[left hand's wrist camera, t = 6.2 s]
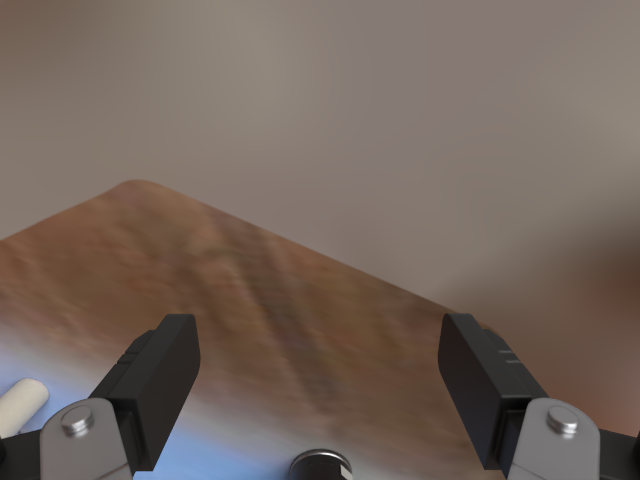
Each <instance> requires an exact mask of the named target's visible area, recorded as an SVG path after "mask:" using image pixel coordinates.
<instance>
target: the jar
mask: <svg viewBox="0 0 640 480" xmlns="http://www.w3.org/2000/svg"><path fill="white" fill-rule="evenodd" d="M48 399H49V391H48V389H47V388H46V386H45V385H44V384H42V383H41V382H39V381H37V380H34V379H29V378H26V379H21V380H19V381H18V382H16V383H15V384H14V385H13V386H12V387H11V388H10V389H9V390H8V391H6V392H5V393H4V394H3V395H2V396H1V397H0V436H1V439H3V438H7V437H11V436H15V435H16V434H17V433H18V431H19V430H20V429H21V428H22V427H23V426H24V425H25V424H26V423H27V422H28V421H29V420H30V419H31V418H32V417H33V415H34V414H35V413H36V412H37V411H38V410H39V409H40V408H41V407H42V406H43V405H44V404H45V403H46V402H47V400H48Z"/></svg>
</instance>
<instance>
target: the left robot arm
mask: <svg viewBox="0 0 640 480" xmlns="http://www.w3.org/2000/svg"><path fill="white" fill-rule="evenodd" d="M438 365H439V370H440V373H441V376H442V378H443V380H444V382H445V384H446V387H447V389H448V391H449V393H450V395H451V398H452V400H453V402H454V404H455V406H456V408H457V411H458V413H459V415H460V417H461V419H462V422H463V424H464V426H465V428H466V430H467V432H468V435H469V437H470V439H471V441H472V443H473V446H474V448H475V450H476V452H477V454H478V457H479V459H480V461H481V463H482V465H483V467H484V470H502V472H503V474H504V476H505V478H506V480H640V431H639V434H638V436H637V438H636V437H631V436H627V435H623V434H619V433H615V432H611V431H607V430H602V429H598V428H597V426H596V425H595V423H594V422H593V421H592V420H591V419H590V418H589V417H588V416H587V415H586V414H585V413H583V412H582V411H580V410H579V409H577V408H576V407H574V406H572V405H570V404H568V403H565V402H563V401H560V400H556V399H552V398H550V397H549V396H548V395H547V394H546V392H545V391H544V390H543V389H542V387H541V386H540V385H539V384H538V382H537V381H536V380H535V379H534V377H533V376H532V375H531V374H530V372H529V371H528V370H527V369H526V367H525V366H524V365H523V364H522V363H520V360H519V359H518V357H517V356H516V355H515V354H514V353H512V350H511V349H510V347H509V346H508V345H507V344H506V342H505V341H504V340H503V339H502V338H500V337H499V336H498V335H496V334H495V333H493V332H492V331H490V330H489V329H482V328H481V327H480V325H479V324H478V323H477V321H476V320H475V319H474V317H473V316H472V315H471V314H469V313H446V314H445V315H444V317H443V321H442V328H441V335H440V343H439V350H438ZM199 367H200V349H199V342H198V335H197V328H196V321H195V317H194V315H193V314H168V315H166V317H165V318H164V319H163V321H162V322H161V323H160V325H159V326H158V327H157V329H156V330H149V331H147V332H146V333H144V334H143V335H141V336H140V337H138V338H137V339H135V340H134V341H133V343H132V344H131V345H130V346H129V348H128V349H127V350H126V351H125V354H123V355H122V356H121V358H120V359H119V360H118V361H117V364H115V365H114V366H113V367H112V369H111V370H110V371H109V372H108V374H107V375H106V376H105V377H104V379H103V380H102V381H101V382H100V384H99V385H98V386H97V387H96V389H95V390H94V391H93V392H92V393H91V395H90V396H89V397H88V398H87V399H84V400H80V401H77V402H74V403H72V404H70V405H68V406H66V407H64V408H63V409H61V410H60V411H58V412H57V413H55V414H54V415H53V416H52V417H51V418H50V419H49V420H48V421H47V422H46V423H45V425H44V426H43V428H42V429H39V430H36V431H32V432H28V433H24V434H19V435H15V436H11V437H7V438H3V439H1V436H0V480H133V479H132V478H133V476H134V474H135V472H136V471H153V470H154V467H155V465H156V463H157V461H158V459H159V457H160V454H161V452H162V450H163V448H164V446H165V444H166V442H167V439H168V437H169V435H170V433H171V431H172V429H173V426H174V424H175V422H176V420H177V418H178V416H179V413H180V411H181V409H182V407H183V405H184V403H185V401H186V398H187V396H188V394H189V392H190V390H191V388H192V385H193V383H194V381H195V379H196V377H197V374H198V372H199ZM290 480H353V475H352V470H351V466H350V464H349V462H348V461H347V460H346V459H345V458H344V457H343V456H342V455H340V454H338V453H336V452H333V451H329V450H313V451H309V452H306V453H304V454H302V455H300V456H299V457H298V458H296V459H295V460H294V462H293V463H292V465H291V468H290Z"/></svg>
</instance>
